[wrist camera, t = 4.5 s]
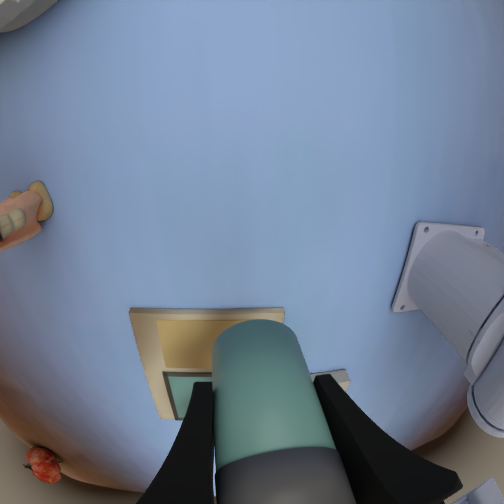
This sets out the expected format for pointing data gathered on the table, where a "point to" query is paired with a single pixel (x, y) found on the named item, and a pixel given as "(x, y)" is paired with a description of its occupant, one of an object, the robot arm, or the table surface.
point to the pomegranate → (43, 464)
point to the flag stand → (21, 12)
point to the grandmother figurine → (23, 215)
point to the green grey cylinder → (270, 422)
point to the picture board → (183, 349)
